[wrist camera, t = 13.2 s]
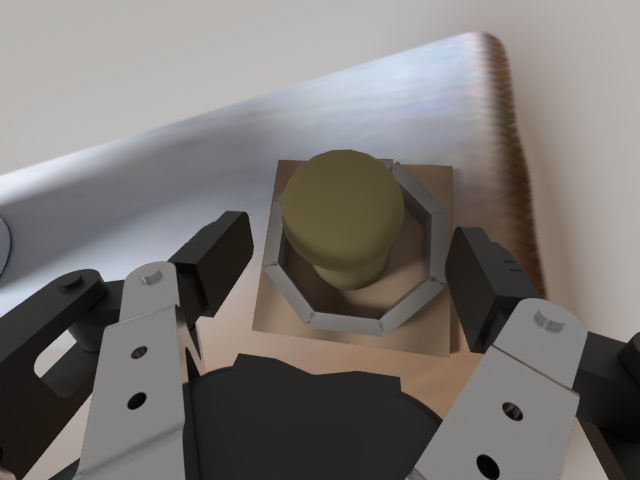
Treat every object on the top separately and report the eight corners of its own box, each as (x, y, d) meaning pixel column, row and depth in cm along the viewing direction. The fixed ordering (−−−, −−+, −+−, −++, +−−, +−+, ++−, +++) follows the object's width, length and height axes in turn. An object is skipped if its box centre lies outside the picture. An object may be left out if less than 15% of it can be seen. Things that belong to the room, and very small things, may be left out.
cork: (349, 197, 22) (340, 96, 11) (407, 251, 20) (460, 193, 9) (294, 250, 21) (229, 198, 11) (348, 308, 20) (335, 315, 9)
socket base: (256, 328, 21) (237, 333, 18) (281, 165, 24) (269, 143, 21) (445, 355, 19) (463, 366, 16) (448, 172, 22) (464, 148, 19)
